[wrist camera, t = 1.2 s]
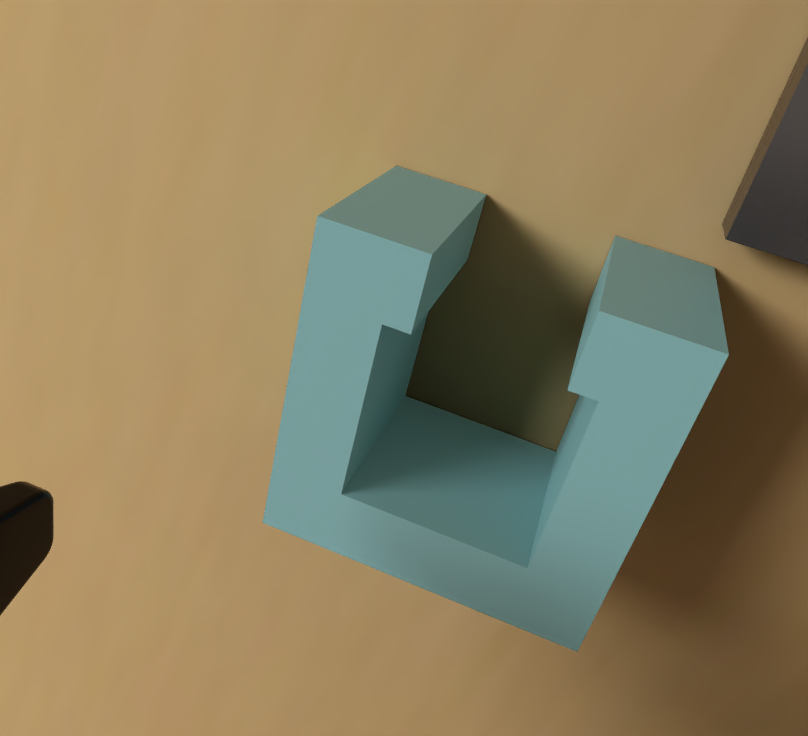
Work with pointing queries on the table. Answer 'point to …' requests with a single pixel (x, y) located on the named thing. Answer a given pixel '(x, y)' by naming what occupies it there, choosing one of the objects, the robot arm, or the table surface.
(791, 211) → the base plate
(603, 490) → the teal u-channel block
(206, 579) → the table surface
